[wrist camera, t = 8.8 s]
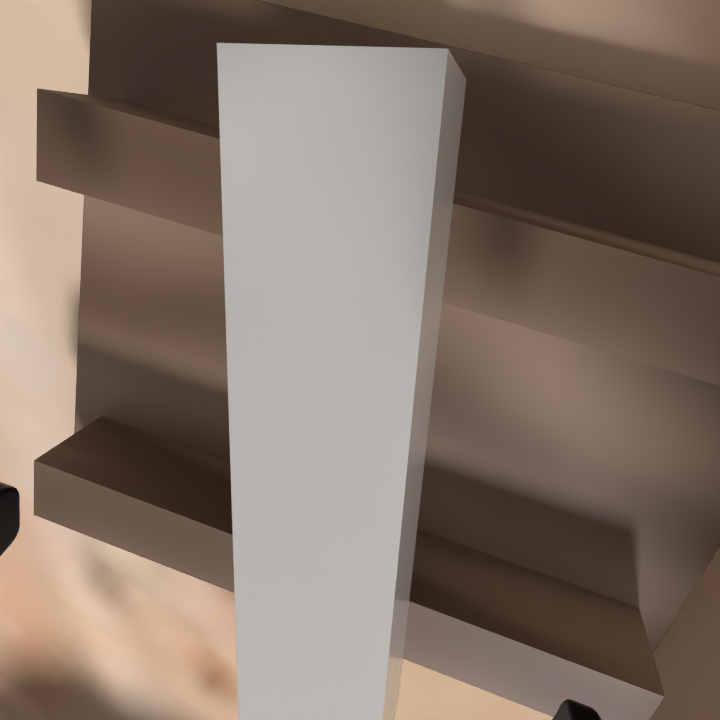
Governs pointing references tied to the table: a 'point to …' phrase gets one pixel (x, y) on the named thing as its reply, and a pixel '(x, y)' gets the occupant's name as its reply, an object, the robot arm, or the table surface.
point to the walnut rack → (453, 358)
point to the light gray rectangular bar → (330, 357)
